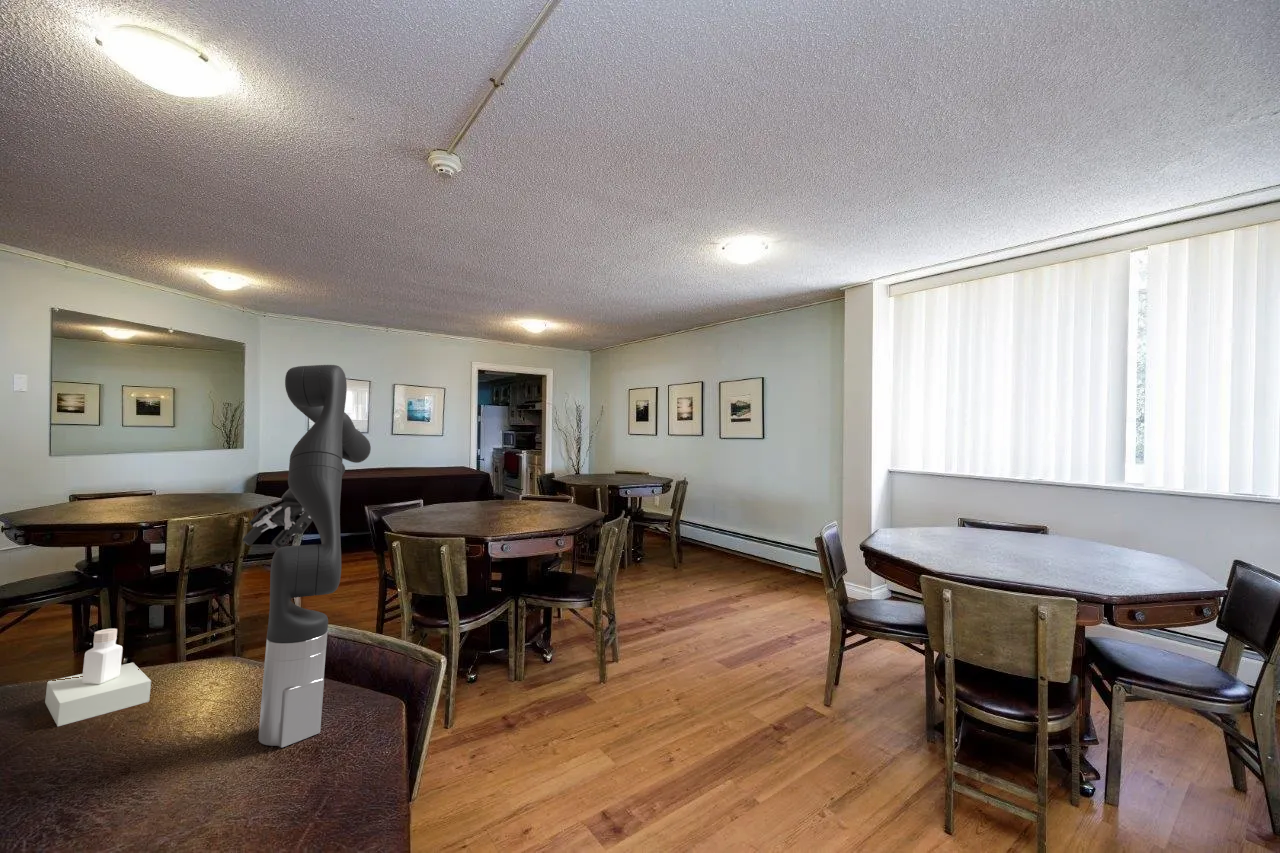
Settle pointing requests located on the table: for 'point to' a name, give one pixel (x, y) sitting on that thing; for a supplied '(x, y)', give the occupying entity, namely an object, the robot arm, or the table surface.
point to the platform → (96, 695)
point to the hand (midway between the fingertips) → (260, 544)
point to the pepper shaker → (102, 658)
